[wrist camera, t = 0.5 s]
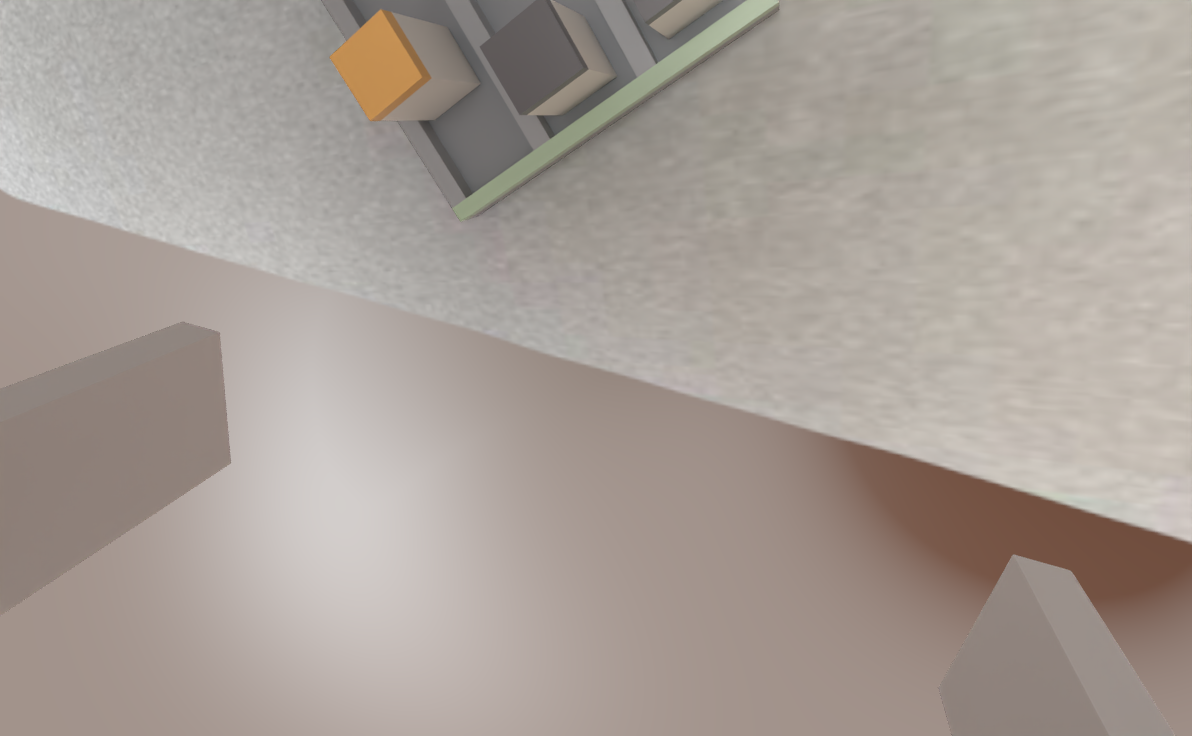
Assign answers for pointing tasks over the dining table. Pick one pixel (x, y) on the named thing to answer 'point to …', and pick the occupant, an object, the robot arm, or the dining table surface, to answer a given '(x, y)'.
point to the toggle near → (672, 13)
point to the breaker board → (535, 142)
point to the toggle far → (404, 68)
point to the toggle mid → (548, 59)
